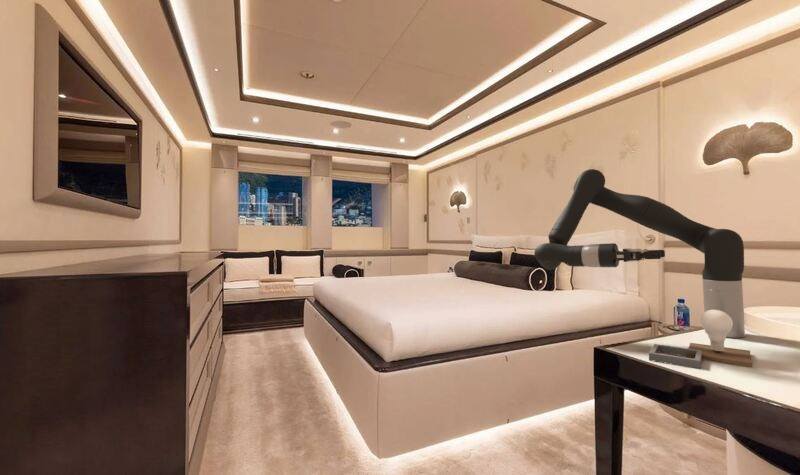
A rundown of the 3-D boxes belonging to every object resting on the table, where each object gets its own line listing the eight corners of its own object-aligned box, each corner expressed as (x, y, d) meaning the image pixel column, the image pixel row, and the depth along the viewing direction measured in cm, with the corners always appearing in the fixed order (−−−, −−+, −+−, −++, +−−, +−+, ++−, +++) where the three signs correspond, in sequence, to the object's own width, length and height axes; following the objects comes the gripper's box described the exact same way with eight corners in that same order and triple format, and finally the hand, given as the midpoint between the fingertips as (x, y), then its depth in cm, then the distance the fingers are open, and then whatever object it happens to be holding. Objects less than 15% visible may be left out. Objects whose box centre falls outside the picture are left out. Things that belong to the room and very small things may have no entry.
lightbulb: (738, 352, 90) (735, 309, 90) (729, 357, 86) (727, 313, 86) (706, 346, 95) (704, 306, 95) (697, 351, 92) (695, 309, 92)
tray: (655, 350, 97) (654, 343, 97) (702, 357, 90) (702, 350, 90) (649, 360, 89) (648, 353, 89) (700, 368, 82) (699, 361, 82)
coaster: (690, 346, 99) (690, 342, 99) (750, 354, 91) (749, 350, 91) (686, 357, 90) (686, 353, 90) (752, 367, 82) (752, 363, 82)
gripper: (593, 244, 106) (658, 241, 95) (604, 243, 117) (664, 240, 106) (594, 269, 106) (660, 269, 95) (606, 265, 116) (666, 265, 105)
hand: (662, 254), depth 100 cm, fingers open, 8 cm apart
